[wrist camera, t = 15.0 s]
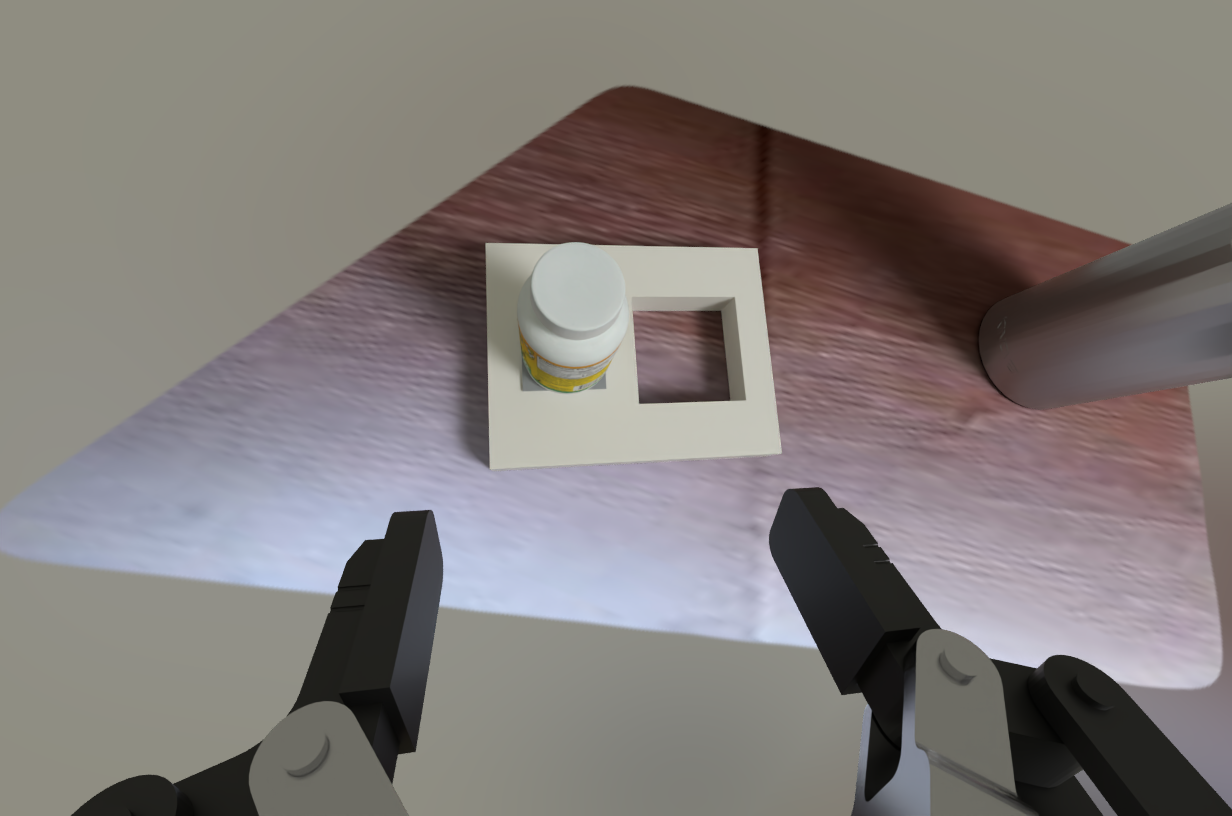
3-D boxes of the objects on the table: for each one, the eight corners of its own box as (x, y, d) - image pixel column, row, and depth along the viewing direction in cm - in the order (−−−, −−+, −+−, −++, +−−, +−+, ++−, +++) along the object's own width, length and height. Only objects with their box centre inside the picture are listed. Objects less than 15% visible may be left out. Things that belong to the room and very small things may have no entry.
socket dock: (742, 265, 36) (758, 246, 33) (764, 456, 33) (783, 453, 31) (489, 261, 33) (485, 241, 30) (493, 471, 30) (489, 469, 28)
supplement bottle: (597, 405, 29) (625, 363, 20) (510, 382, 29) (496, 328, 19) (618, 323, 30) (653, 248, 21) (534, 300, 30) (533, 211, 21)
